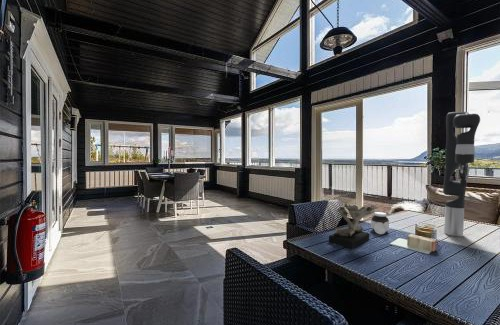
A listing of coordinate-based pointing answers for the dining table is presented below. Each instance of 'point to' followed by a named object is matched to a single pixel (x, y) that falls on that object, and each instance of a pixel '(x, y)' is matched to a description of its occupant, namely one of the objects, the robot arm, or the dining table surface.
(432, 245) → the maple block
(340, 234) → the coral
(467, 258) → the dining table surface
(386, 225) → the spread jar
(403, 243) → the sage board
